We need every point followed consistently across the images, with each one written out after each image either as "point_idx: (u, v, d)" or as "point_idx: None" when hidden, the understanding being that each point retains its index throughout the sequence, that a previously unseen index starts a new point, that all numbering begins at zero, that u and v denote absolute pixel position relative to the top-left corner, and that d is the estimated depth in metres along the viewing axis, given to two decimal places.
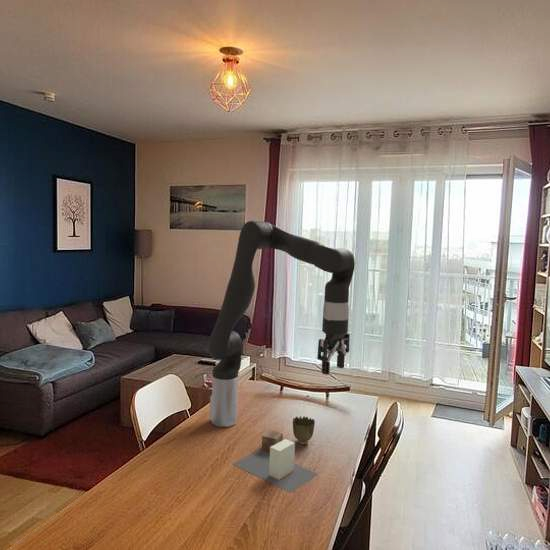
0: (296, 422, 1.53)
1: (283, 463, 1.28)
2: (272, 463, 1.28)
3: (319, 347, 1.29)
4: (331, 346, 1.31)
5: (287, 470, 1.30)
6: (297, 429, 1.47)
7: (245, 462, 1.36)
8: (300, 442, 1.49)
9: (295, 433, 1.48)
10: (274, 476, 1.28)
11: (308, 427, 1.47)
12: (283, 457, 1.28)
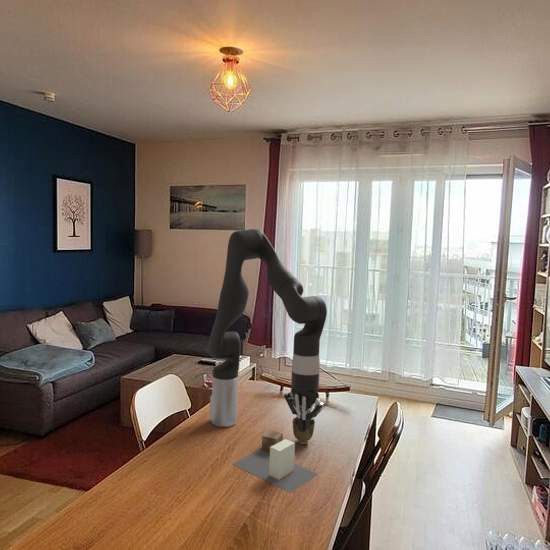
0: (296, 422, 1.53)
1: (283, 463, 1.28)
2: (272, 463, 1.28)
3: (317, 412, 1.21)
4: None
5: (287, 470, 1.30)
6: (297, 429, 1.47)
7: (245, 462, 1.36)
8: (300, 442, 1.49)
9: (295, 433, 1.48)
10: (274, 476, 1.28)
11: None
12: (283, 457, 1.28)
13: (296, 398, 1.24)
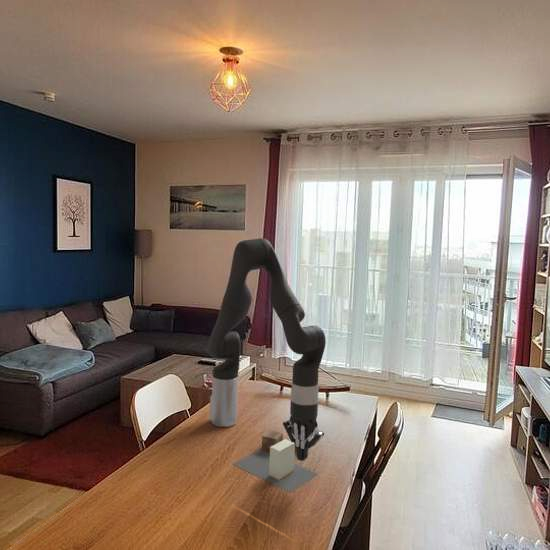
0: None
1: (283, 463, 1.28)
2: (272, 463, 1.28)
3: (316, 441, 1.22)
4: None
5: (287, 470, 1.30)
6: None
7: (245, 462, 1.36)
8: None
9: None
10: (274, 476, 1.28)
11: None
12: (283, 457, 1.28)
13: (295, 427, 1.24)
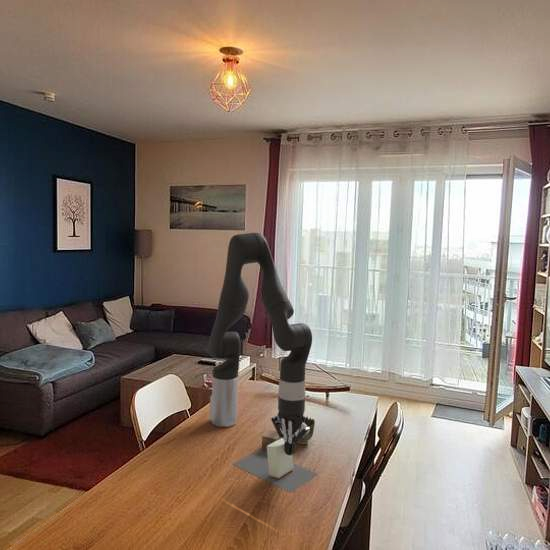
0: None
1: (281, 461, 1.28)
2: (270, 462, 1.29)
3: (303, 436, 1.25)
4: None
5: (286, 468, 1.30)
6: None
7: (245, 462, 1.36)
8: (300, 442, 1.49)
9: None
10: (274, 475, 1.28)
11: None
12: (280, 454, 1.28)
13: (283, 422, 1.27)
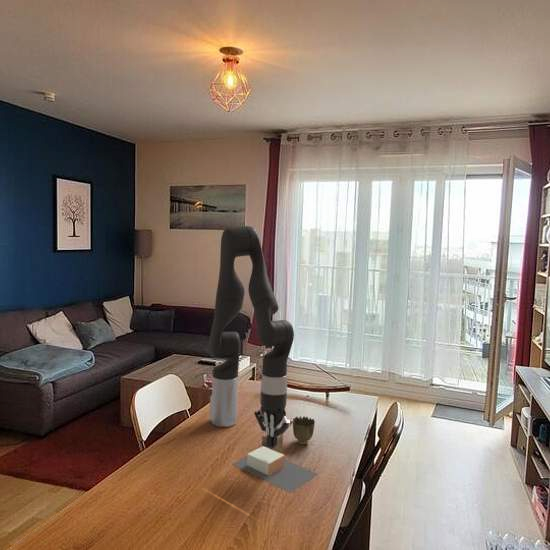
0: (296, 422, 1.53)
1: (262, 456, 1.33)
2: (258, 467, 1.32)
3: (284, 429, 1.28)
4: None
5: (274, 457, 1.33)
6: (297, 429, 1.47)
7: (245, 462, 1.36)
8: (300, 442, 1.49)
9: (295, 433, 1.48)
10: (267, 468, 1.29)
11: (308, 427, 1.47)
12: (257, 454, 1.34)
13: (265, 416, 1.31)
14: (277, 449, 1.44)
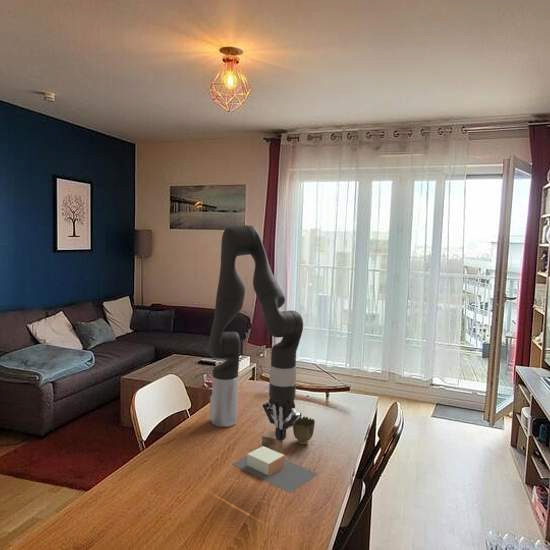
0: (296, 422, 1.53)
1: (262, 456, 1.33)
2: (258, 467, 1.32)
3: (293, 421, 1.26)
4: None
5: (274, 457, 1.33)
6: (297, 429, 1.47)
7: (245, 462, 1.36)
8: (300, 442, 1.49)
9: (295, 433, 1.48)
10: (267, 468, 1.29)
11: (308, 427, 1.47)
12: (257, 454, 1.34)
13: (273, 408, 1.29)
14: (277, 449, 1.44)
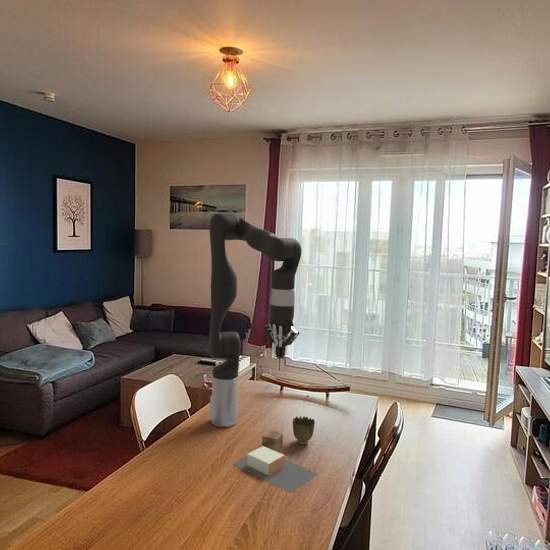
0: (296, 422, 1.53)
1: (262, 456, 1.33)
2: (258, 467, 1.32)
3: (292, 339, 1.38)
4: None
5: (274, 457, 1.33)
6: (297, 429, 1.47)
7: (245, 462, 1.36)
8: (300, 442, 1.49)
9: (295, 433, 1.48)
10: (267, 468, 1.29)
11: (308, 427, 1.47)
12: (257, 454, 1.34)
13: (274, 328, 1.40)
14: (277, 449, 1.44)
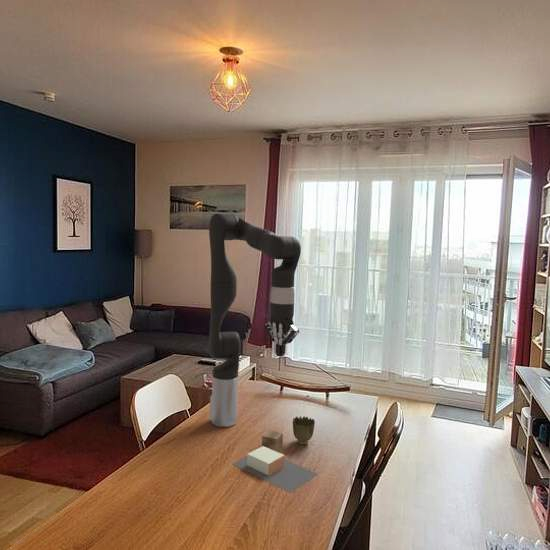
0: (296, 422, 1.53)
1: (262, 456, 1.33)
2: (258, 467, 1.32)
3: (292, 336, 1.38)
4: None
5: (274, 457, 1.33)
6: (297, 429, 1.47)
7: (245, 462, 1.36)
8: (300, 442, 1.49)
9: (295, 433, 1.48)
10: (267, 468, 1.29)
11: (308, 427, 1.47)
12: (257, 454, 1.34)
13: (274, 326, 1.41)
14: (277, 449, 1.44)
